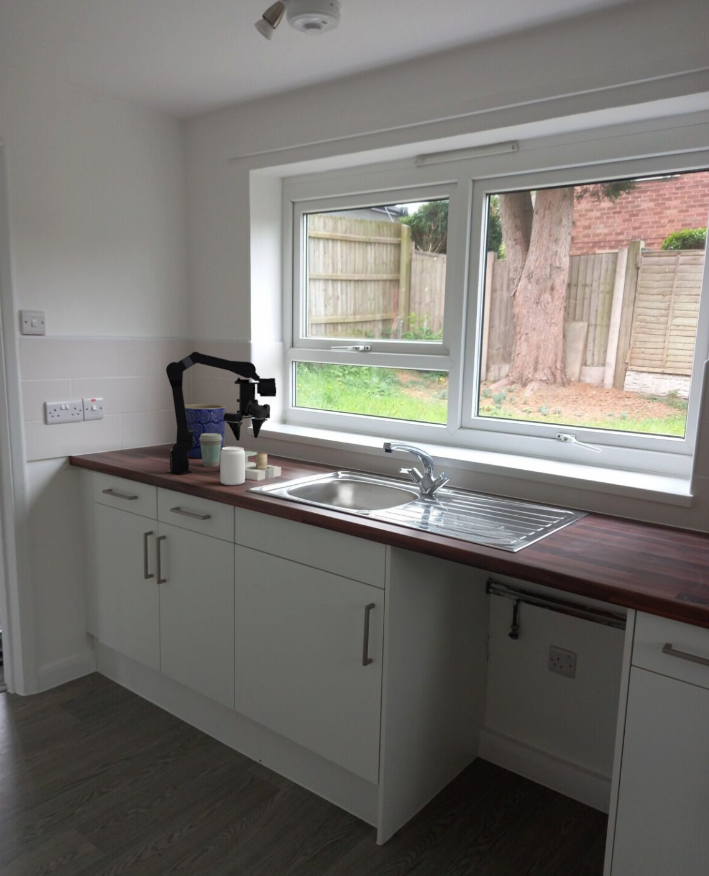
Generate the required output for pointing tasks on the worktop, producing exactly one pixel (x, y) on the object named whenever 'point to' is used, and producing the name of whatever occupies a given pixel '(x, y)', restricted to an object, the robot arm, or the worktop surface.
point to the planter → (204, 424)
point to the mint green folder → (249, 454)
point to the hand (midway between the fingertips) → (247, 439)
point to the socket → (261, 472)
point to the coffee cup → (210, 449)
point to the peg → (261, 461)
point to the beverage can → (232, 466)
